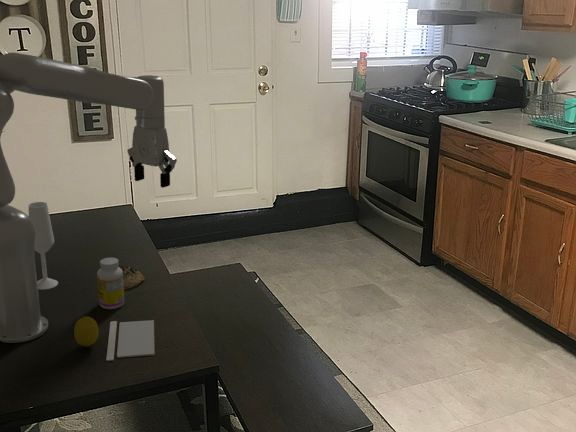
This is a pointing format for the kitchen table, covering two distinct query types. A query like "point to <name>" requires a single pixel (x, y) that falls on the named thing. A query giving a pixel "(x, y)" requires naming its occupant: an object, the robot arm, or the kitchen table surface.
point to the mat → (136, 339)
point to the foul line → (111, 341)
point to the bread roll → (131, 277)
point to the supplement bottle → (110, 284)
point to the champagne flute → (42, 239)
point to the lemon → (86, 331)
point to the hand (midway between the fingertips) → (152, 183)
